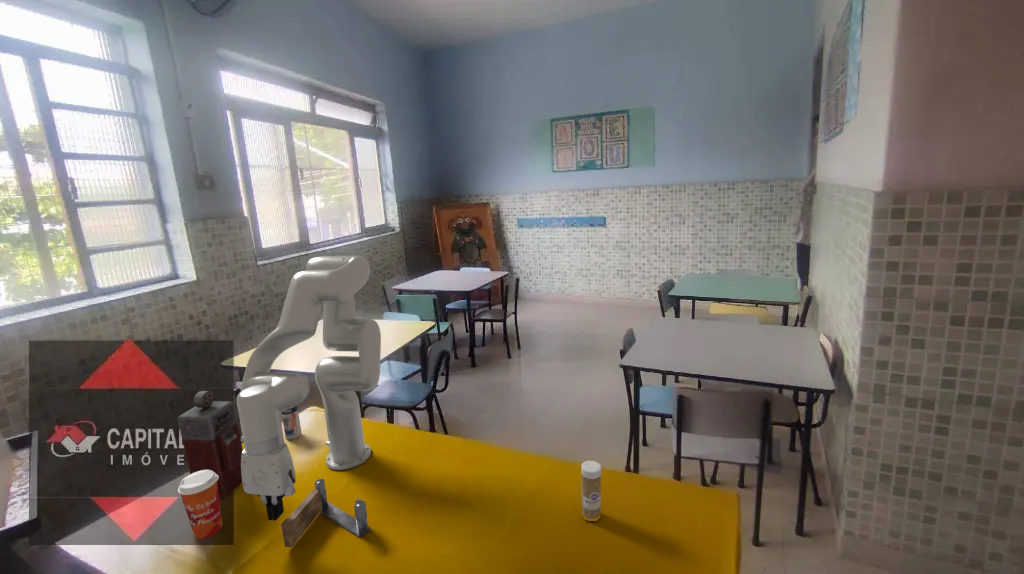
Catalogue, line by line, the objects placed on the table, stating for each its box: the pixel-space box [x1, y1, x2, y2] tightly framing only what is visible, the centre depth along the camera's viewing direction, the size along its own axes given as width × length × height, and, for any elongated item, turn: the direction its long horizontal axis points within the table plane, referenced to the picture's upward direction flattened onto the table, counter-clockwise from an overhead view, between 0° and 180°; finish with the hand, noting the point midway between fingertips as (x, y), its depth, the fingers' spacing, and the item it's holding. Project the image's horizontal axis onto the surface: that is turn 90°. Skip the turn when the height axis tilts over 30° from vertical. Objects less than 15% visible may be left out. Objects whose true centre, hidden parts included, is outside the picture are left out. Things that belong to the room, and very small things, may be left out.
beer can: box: [280, 405, 302, 441], centre depth 144 cm, size 5×5×12 cm
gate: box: [280, 488, 323, 548], centre depth 104 cm, size 12×2×6 cm, turn 171°
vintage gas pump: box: [177, 390, 244, 499], centre depth 119 cm, size 9×11×28 cm
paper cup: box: [177, 470, 223, 540], centre depth 105 cm, size 8×8×14 cm
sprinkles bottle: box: [580, 460, 602, 519], centre depth 104 cm, size 5×5×14 cm
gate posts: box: [314, 478, 371, 538], centre depth 107 cm, size 18×4×8 cm, turn 56°
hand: (276, 516), depth 101 cm, fingers closed
